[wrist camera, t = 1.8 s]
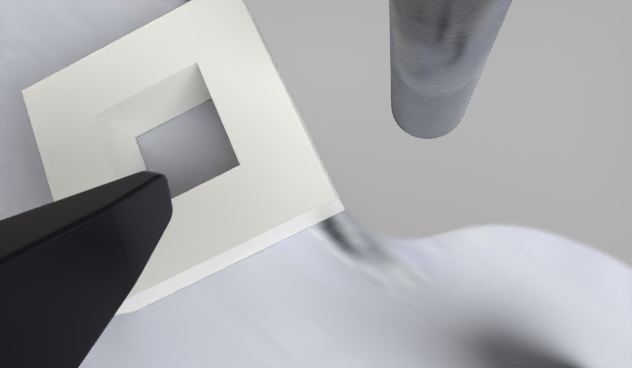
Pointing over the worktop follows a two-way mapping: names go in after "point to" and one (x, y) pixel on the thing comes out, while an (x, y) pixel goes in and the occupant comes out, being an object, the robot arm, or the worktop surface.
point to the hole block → (163, 105)
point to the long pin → (439, 59)
